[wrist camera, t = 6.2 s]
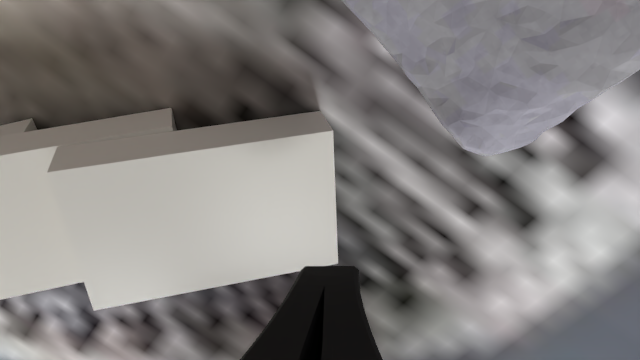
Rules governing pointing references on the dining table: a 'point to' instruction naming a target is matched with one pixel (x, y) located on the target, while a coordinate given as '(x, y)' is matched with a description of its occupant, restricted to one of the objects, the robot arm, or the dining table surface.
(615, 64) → the stone block
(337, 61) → the dining table surface
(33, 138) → the domino
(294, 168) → the domino
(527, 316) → the dining table surface
